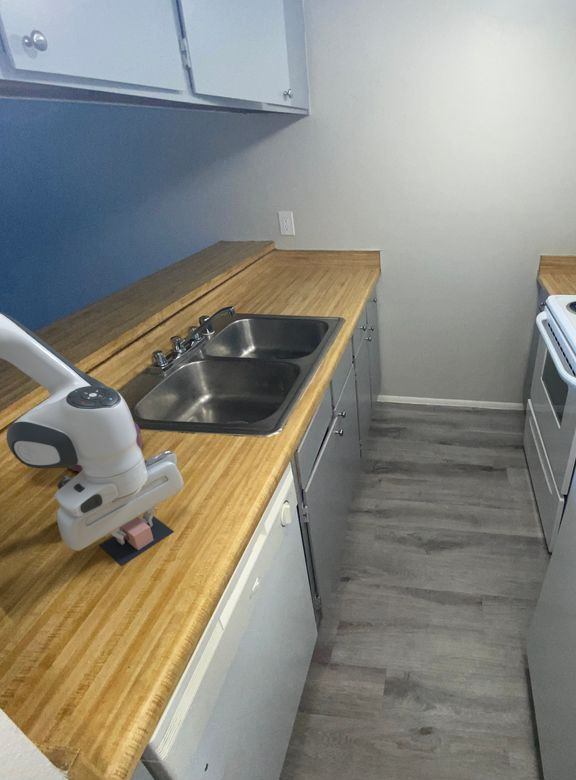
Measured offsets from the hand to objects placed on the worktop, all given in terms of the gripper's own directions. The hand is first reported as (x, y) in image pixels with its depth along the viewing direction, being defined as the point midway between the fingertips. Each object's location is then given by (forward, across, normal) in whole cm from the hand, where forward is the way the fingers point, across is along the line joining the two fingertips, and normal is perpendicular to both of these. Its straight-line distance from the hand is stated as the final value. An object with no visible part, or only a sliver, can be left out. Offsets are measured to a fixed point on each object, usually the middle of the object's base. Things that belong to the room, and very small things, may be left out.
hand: (135, 533), depth 87 cm
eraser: (+1, 0, 0) cm, 1 cm away
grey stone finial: (+2, +4, -12) cm, 13 cm away
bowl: (+2, -10, -31) cm, 33 cm away
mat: (+2, 0, 0) cm, 2 cm away
